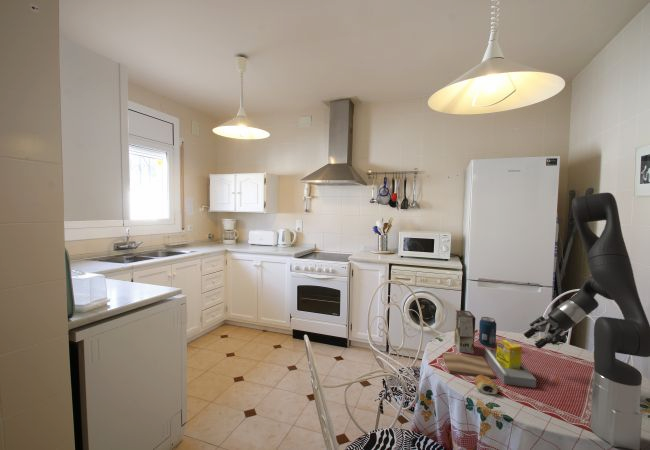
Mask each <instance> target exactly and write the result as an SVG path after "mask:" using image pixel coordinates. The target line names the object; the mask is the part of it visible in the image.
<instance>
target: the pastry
mask: <svg viewBox="0 0 650 450" xmlns="http://www.w3.org/2000/svg"><path fill="white" fill-rule="evenodd" d="M474 384H476V385H475V386H476V389H477V391H478V392H479V393H481V394H484V395H485V394H486V395H497V394H498V391H499V389H498V386H497V384H496V383H495V381H494V380H492V378H489V377H487V376H484V375H478V376H475V380H474Z"/></svg>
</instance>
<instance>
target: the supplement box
mask: <svg viewBox="0 0 650 450" xmlns="http://www.w3.org/2000/svg"><path fill="white" fill-rule="evenodd" d="M522 349H523V348H522V346H521V345H520V344H516V343H515V342H513V341H511V340H509V339H504V340H499V341H497V340H496V351H497V354H496V360H497V361H498V362H499V363H500V365H501V366H502V367H503V368H509V369H518V370H520V368H521V363H522V351H523V350H522Z"/></svg>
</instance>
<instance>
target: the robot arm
mask: <svg viewBox="0 0 650 450" xmlns="http://www.w3.org/2000/svg"><path fill="white" fill-rule="evenodd" d="M571 210H572V215H573V218H574V222H575V224H576V227H577V232H578V234H579V236H580V239H581V241H582V244H583V248H584V251H585V255H586V259H587V264H588V269H589V272H590V277H588V278H586V280H585V281H584V283H583V284H582V285H581V287H580V288H579V290H578V291H577V292H576V293H575V294H574V295H573V296H571V297H569V298H568V299H567V300H565V301H563V302H562V303H561V304H559V305H557V306H556V307H555V308H554V309H553V310H551V311H549V312H548V314H547V316H548V318H545V317H544V316H539V317H538V318H536V319H535V320H533V321H532V322H531V323H530V324H529V327H530V329H528V330H527V331H526V332H524V333H523V336H524V337H525V338H526V339H530V338H532V337H533V336H534V335H536V333H543V334H544V335H543V337H542V338H540V339H539V340H537V341H536V342H535V343H534V346H536V347H537V349H538V350H539V349H542V348H544V347H545V346H547V345H548V344H549V345H550V344H552V345H553V346H555V345H556V344H557V343H559V342H560V341H561V340H562V339H564V338H565V337H567V333H566V332H568V331H569V330H570V329H572V328H573V327H575V325H577V324H578V323H580V322H581V321H582V320H584V318H586V316H588V315H589V314H591V313H592V312H593V311H595V310H596V309H597V308H598V307H599V302H598V300H597V299H596V298H595V297H596V295H599V296H601V297H603V298H605V299H607V300H611V301H614V302H615V303H616V305H617V306H618V308H619V309H620V312H621V314H622V317H623V318H616V317H609V316H599V317H598V318H596V320H595V322H594V327H593V361H594V362H593V378H592V395H591V407H590V408H591V409H590V410H591V411H590V425H589V427H590V429H591V432H593V433H594V435H596V436H597V437H598V438H600V439H601V440H604V441H605V442H607V443H608V444H610V446H612V447H616V448H622V449H628V450H640V448H641V435H642V434H641V433H642V422H643V415H642V414H641V413H640V407H641V394H642V381H643V375H642V373H641V372H640V371H639V369H637V368H636V367H634V366H633V365H631V364H629V363H627V362H624V361H622V360H620V359H617V358H616V354H621V355H628V356H633V357H641V358H650V323H649V319H648V317H647V315H646V312H645V310H644V306H643V304H642V302H641V301H642V300H641V299H640V295H639V292H638V287H637V285H636V284H637V283H636V280H635V275H634V270H633V266H632V263H631V258H630V255H629V252H628V249H627V247H626V241H625V240H624V239H625V238H624V236H623V232H622V226H621V221H620V214H619V208H618V203H617V200H616V196H614V194H612V193H611V192H599V193H593V194H586V195H579V196H575V197H574V198H572V201H571ZM600 221H605V225H604V227H603V230H602V232H601V234H600V236H598V235H597V234H595V232H594V231H593V230H592V229H591V228H590V226H589V222H591V223H592V222H600ZM565 331H566V332H565Z"/></svg>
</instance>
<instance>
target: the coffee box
mask: <svg viewBox="0 0 650 450" xmlns="http://www.w3.org/2000/svg"><path fill="white" fill-rule="evenodd" d="M475 333H476V317H475V315H474V314H473V313H472V312H471V311H470V310H458V309H456V310H455V316H454V345H455V347H456V349H457V350H458V352H459V353H466V354H474V353H475V335H476V334H475Z"/></svg>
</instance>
